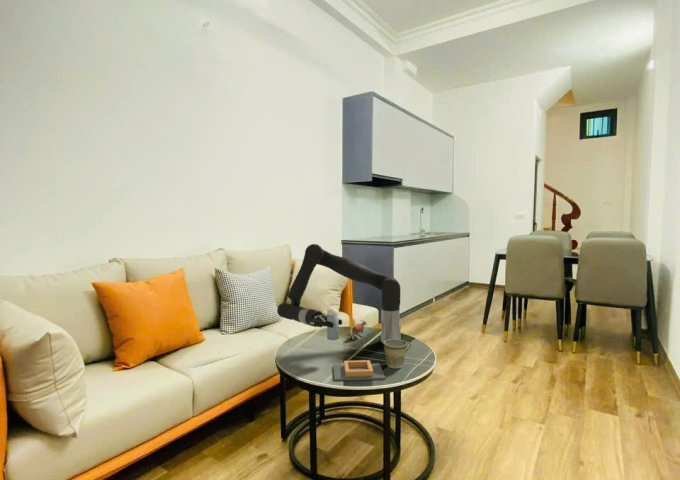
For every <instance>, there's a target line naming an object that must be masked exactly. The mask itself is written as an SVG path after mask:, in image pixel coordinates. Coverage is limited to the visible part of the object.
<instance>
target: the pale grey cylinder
mask: <svg viewBox="0 0 680 480" xmlns="http://www.w3.org/2000/svg"><path fill="white" fill-rule="evenodd" d="M326 315H327V321H329V322H333V327H332V328H331V327H327V326H326V330H327V331H326V333H327V336H326V337H327V338H326V339H327V340H328V341H337V340H339V338H340V337H339V336H340V333H339V330H340V329H339V322H338V319H339V311H338V309H336V307H332V308H331V307H330V308H329V309H328V310H327V311H326Z"/></svg>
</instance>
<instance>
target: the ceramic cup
mask: <svg viewBox="0 0 680 480" xmlns="http://www.w3.org/2000/svg"><path fill="white" fill-rule="evenodd" d="M408 344H409V347H408V348H407V346H408ZM411 346H412V344H411V342H410V341H405V340H403V339H401V340H399V339H389V340H386V341H384V344H383V348H384V349H383V350H384V355H385V358H386V359H385V360H386V361H385V362H386V367H389V368H391V369H401V368H403V366H404V364H405V363H404V362H405V357H406V356H405V355H406V353H407V352H408V351H409V349H411Z"/></svg>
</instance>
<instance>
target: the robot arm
mask: <svg viewBox="0 0 680 480" xmlns="http://www.w3.org/2000/svg"><path fill="white" fill-rule="evenodd" d="M317 265H319V266H322V267H325V268H327V269H330V270H332V271H333V272H335V273H337V274H338V275H341V276H342V277H345V278H346V279H347V278H348V279H349V280H351V281H354V282H358V283H361V284H366V285H370V286H372V287H375V288H376V289H378V290H380V291H381V304H380V305H381V306H380V308H381V309H380V310H381V312H380V314H381V316H380V317H381V320H380V321H381V322H380V323H381V326H380V327H381V332H380V333H381V334H380V335H381V336H380V337H381V338H380V339H381V340H380V341H381V343H382V344H383V345H384V341H386V340H389V339H399V340H402V339H401V338H402V337H401V335H402V334H401V324H400V322H401V321H400V319H401V318H400V316H401V314H400V307H401V306H400V305H401V284H400V283H399V281H398V280H397V279H396V278H394V277H393V276H389V275H386V274H383V273H380V272H377V271H375V270H373V269H371V268H369V267H368V266H367V265H364V264H361V263H360V262H357V261H355V260H353V259H350V258H346V257H344V256H339V255H335V254H332V253H330V252H329V251H326V250H325V249H323V248H322V247H321V246H320V245H319V244H317V243H312V244H310V245H308V246H307V247H305V250H304V256H303V260H302V263H301V265H300V268H299V270H298V273H297V275H296V276H295V278H294V281H293V282H292V284H291V287H290V289H289V290H288V293H287V298H288V299H289V300H290V303H286V302H283V303H281V304H279V305H278V307H277V308H276V309H277V310H276V312H277V314H278V316H279V317H281V318H284V319H287V320H290V321H292V320H293V321H294V322H295V321H296V322H297V323H302V324H304V325H307V326H310V327H314V328H323V327H324V328H327V327H331V328H332V327H333V322H329V321H327V314H323V313H322V311H320V310H318V309H313V308H309V307H302V306H301V301H302V298H303V295H304V294H305V291H306V289H307V286H308V284H309V280H310V278H311V277H312V274H313V271H314V269H315V268H316V266H317ZM338 322H339V325H340V326H342V325H343V319H340V318H338Z"/></svg>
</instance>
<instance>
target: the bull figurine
mask: <svg viewBox="0 0 680 480" xmlns="http://www.w3.org/2000/svg"><path fill="white" fill-rule="evenodd" d="M366 326H368V323H367V321H366V320H364V319H362V320H360V321H359V322H358V323H357V324H356V325H354V326H353V327H352V329H351V334H352V335H351V337H352V338H351V339H352V340H355V338H354V336H355V337H356V338H357V339H358V340H360V336H361V337H364V336H363V334H364V329H365V327H366Z"/></svg>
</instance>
